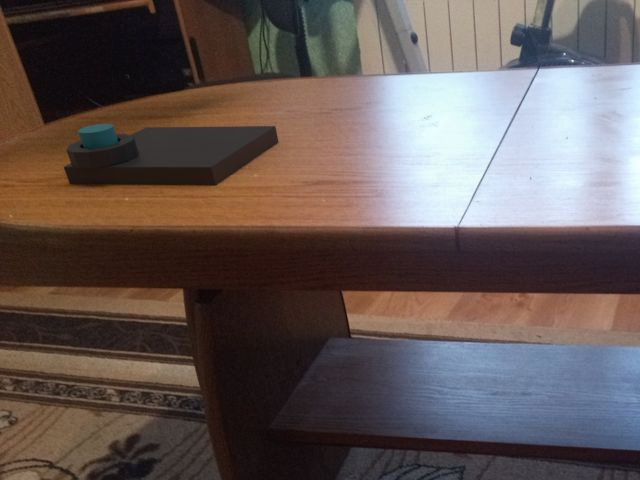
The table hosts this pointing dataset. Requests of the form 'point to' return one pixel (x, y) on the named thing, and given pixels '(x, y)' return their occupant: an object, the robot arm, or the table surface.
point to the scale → (170, 156)
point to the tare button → (98, 136)
